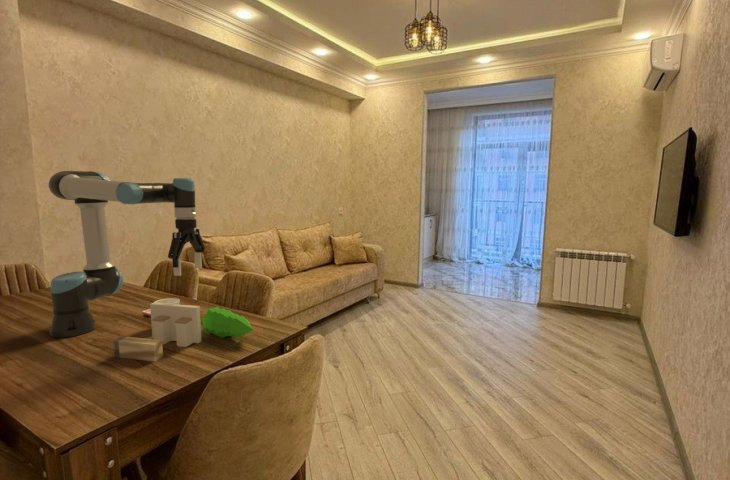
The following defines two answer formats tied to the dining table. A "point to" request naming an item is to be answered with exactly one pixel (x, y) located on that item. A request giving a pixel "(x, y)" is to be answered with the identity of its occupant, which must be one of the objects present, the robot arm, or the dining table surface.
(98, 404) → the dining table surface
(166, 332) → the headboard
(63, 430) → the dining table surface
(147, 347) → the rail
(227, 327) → the decorative tree
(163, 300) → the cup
